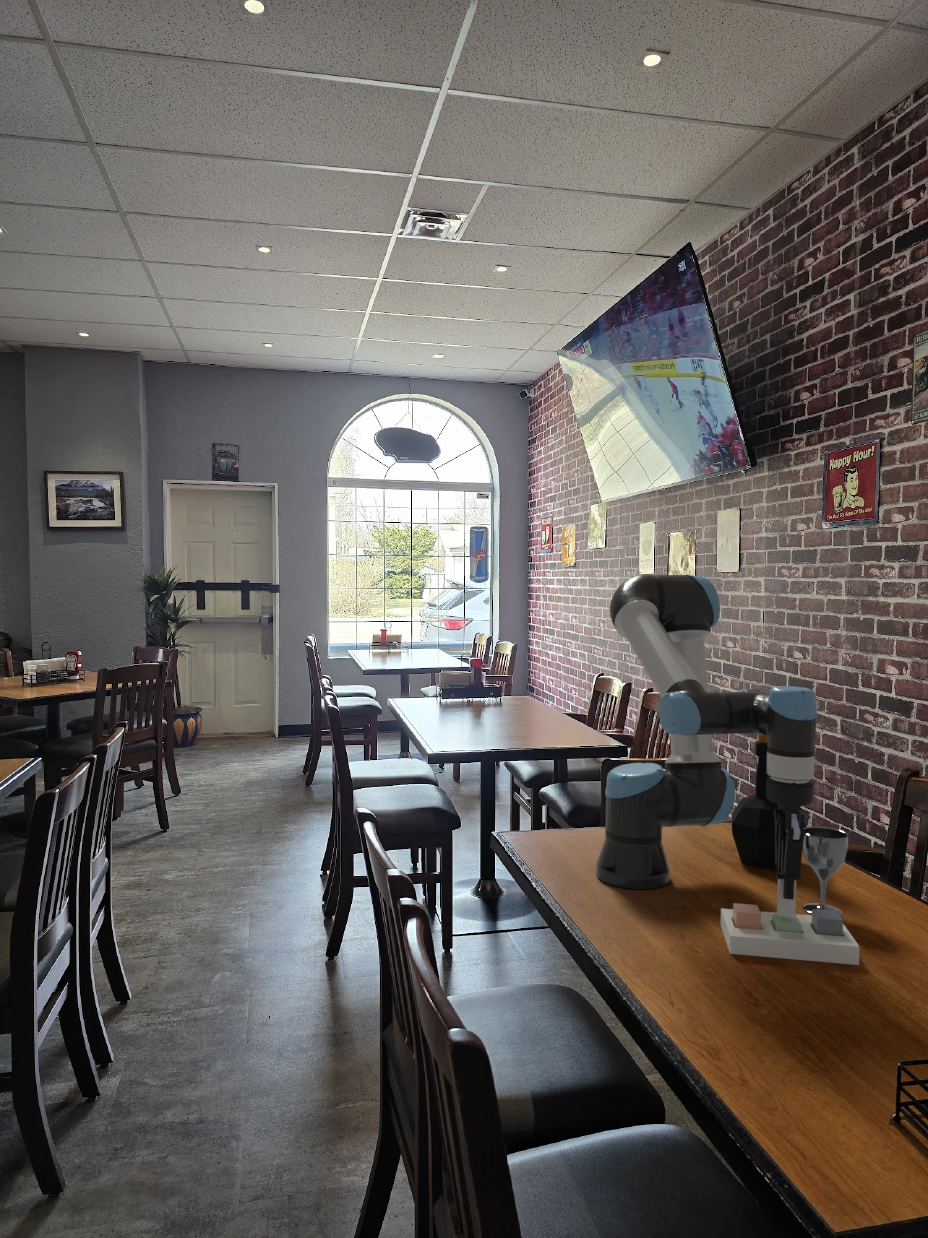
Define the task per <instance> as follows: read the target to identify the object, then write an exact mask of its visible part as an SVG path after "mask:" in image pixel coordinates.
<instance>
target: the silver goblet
mask: <svg viewBox="0 0 928 1238" xmlns="http://www.w3.org/2000/svg"><path fill="white" fill-rule="evenodd" d="M804 829H805V832H806V833H805V837H804V841H803V850H802V854H803V857H804V859H805V861H806V863H807V864H808V865H809V867H810V868H811V869H812V870H813V872H814V874H816V877H817V878H818V880H819V887H820V902H819V903H816V902H814V903H813V902H812V903H810V902H809V903H805V904H804V905H803V906H802V910H803V911H804V912H805V913H807V914H808V915H811V916H812V909H815V910H828V911H837V912H838V914H839V915H840V917H841V918H842V917H843V916H844V912H843V910H841V909H840V908H838V907H835V906H833V905H830V904H826V903H827V902H826V893H827V885H828V883H829V881H830V878H831V877H832V876H833V875H834V874H835V873H836V872H837V871H838V870H839V869H840V868H841V867H842V866H843V865H844V863H845V860H846V856H847V852H848V843H849V834H848V833H847V832H846V831H844V830H841V829H837V828H834V827H828V826H818V825H817V826H816V825H815V826H814V825H812V826H807V827H805V828H804Z"/></svg>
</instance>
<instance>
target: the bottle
mask: <svg viewBox="0 0 928 1238" xmlns="http://www.w3.org/2000/svg"><path fill="white" fill-rule="evenodd" d="M757 737H758V740H756V741H755V743H754V754H755V756H756V757H758V758H757V762H756V763H757V764H756V767H755V774H754V775H755V780H754V781H755V782H754V794H751V795H748V796H746V797H744V798H740V801H739V802H738V803H737V805H736V806H735V808H734V809H733V810H732V811H731V813H730V814H731V815H730V816H731V818H730V819H731V835H732V837H733V838H732V839H733V841H734V844H735V847H736V850H737V854H738V857H739V860H740V862H743V863H745V864H747V865H749V866H752V867H755V868H757V869H763V870H764V869H765V870H777V869H778V867H776V865H775V862H776V859H775V819H774V813H773V812H774V809H778V803H774V802H772V801H770V800H768V799H767V797H766V780H767V778H768V777H769V775H768V774H767V773H766V771H767V748H768V737H767V736H764V735H761V734H757ZM805 827H808V826H807V825H806V821H804V824H803V826H802V828H805Z"/></svg>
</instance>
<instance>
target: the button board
mask: <svg viewBox="0 0 928 1238" xmlns="http://www.w3.org/2000/svg"><path fill="white" fill-rule="evenodd" d="M760 912H761V930H758V929H746V928H735V926H734V923H733V908H731V909H730V908H720V927H721V930H722V934H723V936H724V939H725V943H726V945H727V950H728V952H729V954H730V955H737V956H738V955H739V956H740V955H741V956H750V957H752V956H753V957H764V958H775V959H783V960H784V959H785V960H797V961H807V962H808V961H810V962H818V963H819V962H821V963H830V964H842V965H843V964H844V965H854V966H860V945H859V944H858V942H857V941H856V939H855V938H854V937H853V936H852V934H851V933H850V931H849V930H848V928H847V926H846V925H845V924H844V923H843V936H831V935H819V934H815V932H814V930H813V929H812V927H811V923H812V915H811V914H797V913H795V916H797V918H798V920H799V921H800V923H801V925H802V931H801V933H795V932H782V931H775V930H774V928H773V926H772V914H777V912H771V911H760Z"/></svg>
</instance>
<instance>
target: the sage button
mask: <svg viewBox="0 0 928 1238" xmlns="http://www.w3.org/2000/svg"><path fill="white" fill-rule="evenodd" d="M772 926H773V928H774V930H775V931H782V932H795V933H801V931H802V925H801V923H800V921H799V920H798V918H797V916H795V917H786V916H778V914H772Z"/></svg>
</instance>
